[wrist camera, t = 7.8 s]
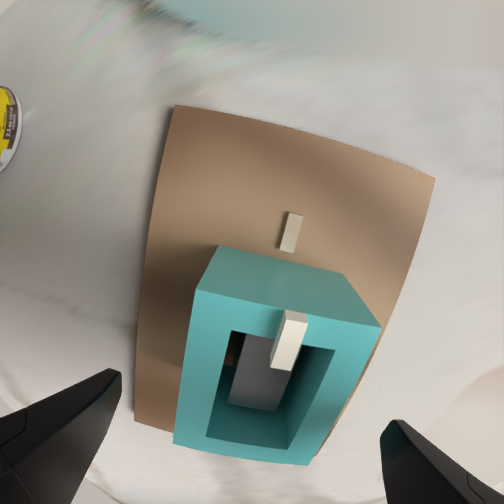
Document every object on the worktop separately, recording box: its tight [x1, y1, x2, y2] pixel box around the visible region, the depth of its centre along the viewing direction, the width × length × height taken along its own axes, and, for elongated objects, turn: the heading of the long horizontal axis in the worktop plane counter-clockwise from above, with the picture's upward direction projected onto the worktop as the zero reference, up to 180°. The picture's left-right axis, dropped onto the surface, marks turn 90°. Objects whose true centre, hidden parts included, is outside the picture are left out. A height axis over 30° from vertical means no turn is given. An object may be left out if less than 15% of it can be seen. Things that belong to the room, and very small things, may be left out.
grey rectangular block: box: [227, 332, 303, 412], centre depth 12 cm, size 4×2×4 cm, turn 166°
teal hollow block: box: [173, 245, 382, 465], centre depth 11 cm, size 7×6×6 cm
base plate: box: [134, 105, 436, 456], centre depth 14 cm, size 18×12×1 cm, turn 166°
